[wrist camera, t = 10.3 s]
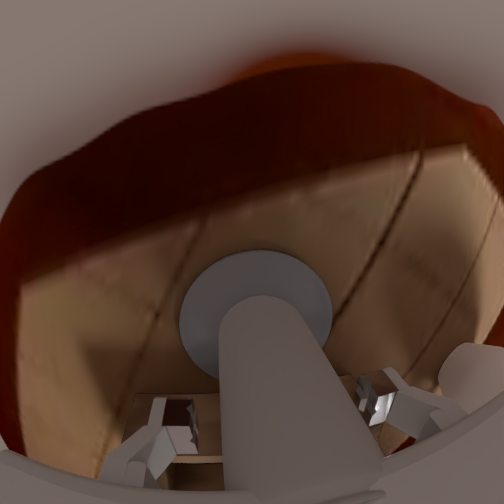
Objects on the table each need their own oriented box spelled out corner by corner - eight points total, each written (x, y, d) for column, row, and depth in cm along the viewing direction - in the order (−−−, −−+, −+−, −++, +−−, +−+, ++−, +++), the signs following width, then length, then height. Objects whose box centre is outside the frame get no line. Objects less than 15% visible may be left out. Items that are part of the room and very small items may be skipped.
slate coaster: (332, 244, 15) (336, 246, 15) (323, 370, 18) (325, 376, 17) (170, 254, 15) (168, 258, 14) (192, 384, 17) (191, 390, 16)
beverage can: (216, 292, 15) (222, 523, 3) (304, 288, 15) (435, 467, 4) (220, 364, 16) (233, 557, 4) (298, 358, 16) (373, 529, 5)
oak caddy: (350, 374, 18) (383, 423, 13) (331, 451, 21) (349, 492, 16) (135, 393, 17) (119, 451, 11) (169, 467, 19) (165, 512, 14)
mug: (445, 330, 19) (540, 404, 7) (491, 319, 20) (567, 368, 9) (400, 425, 21) (456, 501, 10) (452, 404, 23) (505, 460, 11)
